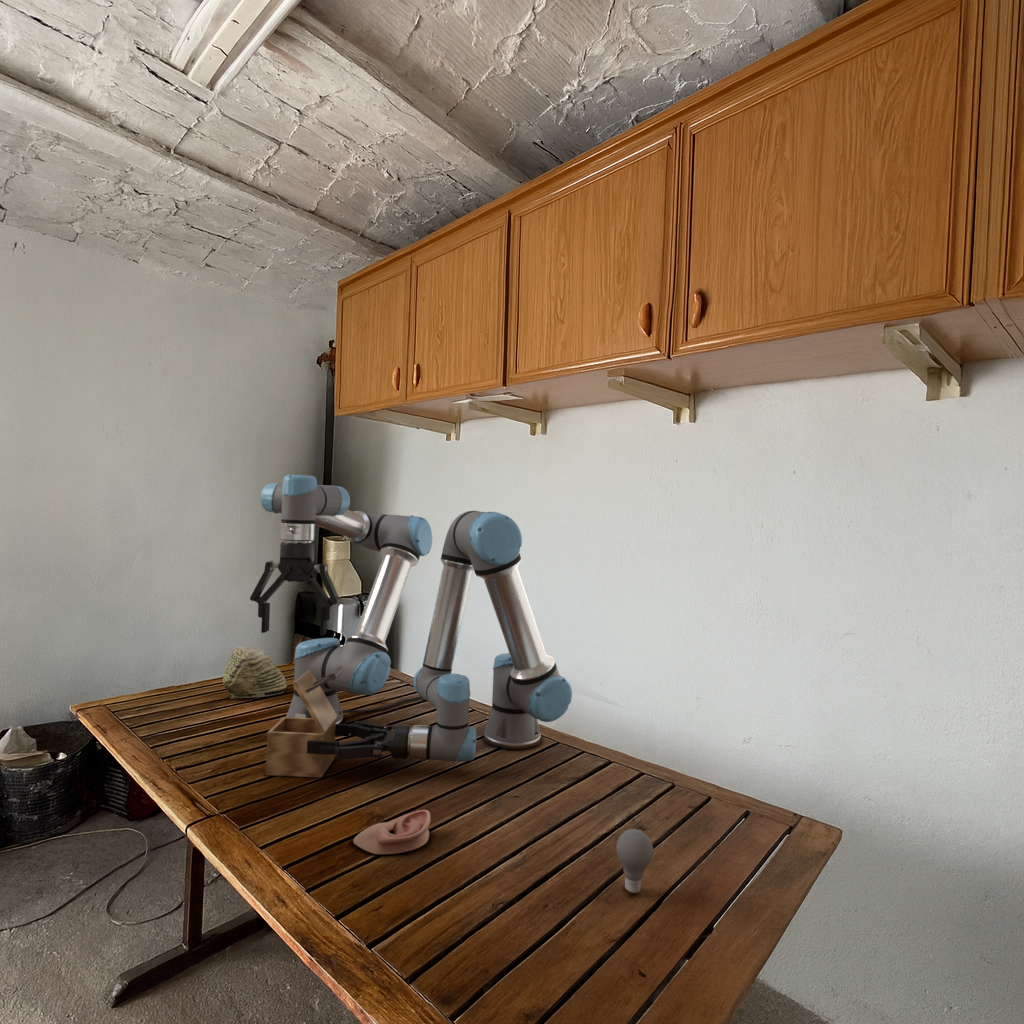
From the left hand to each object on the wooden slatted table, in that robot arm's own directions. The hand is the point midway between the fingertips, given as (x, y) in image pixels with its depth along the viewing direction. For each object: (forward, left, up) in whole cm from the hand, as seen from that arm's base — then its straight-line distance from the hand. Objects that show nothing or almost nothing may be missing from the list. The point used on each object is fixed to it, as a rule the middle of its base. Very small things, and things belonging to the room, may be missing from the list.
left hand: (294, 633), depth 147 cm
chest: (-2, +2, -31) cm, 31 cm away
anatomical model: (+4, +42, -31) cm, 52 cm away
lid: (-3, +4, -16) cm, 17 cm away
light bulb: (-12, +83, -31) cm, 89 cm away
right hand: (-4, +5, -24) cm, 25 cm away
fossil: (-21, -54, -31) cm, 66 cm away
